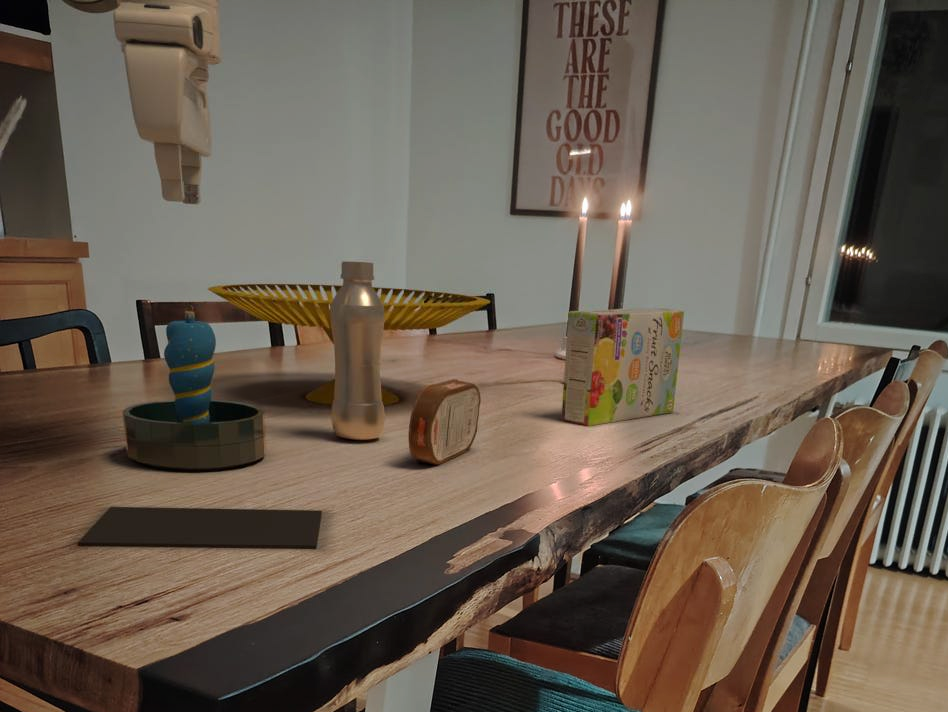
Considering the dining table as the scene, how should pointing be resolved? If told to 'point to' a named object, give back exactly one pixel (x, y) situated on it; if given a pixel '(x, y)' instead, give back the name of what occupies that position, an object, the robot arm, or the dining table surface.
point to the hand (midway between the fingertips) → (182, 202)
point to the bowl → (195, 436)
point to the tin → (444, 421)
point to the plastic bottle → (357, 354)
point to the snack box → (620, 364)
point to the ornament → (190, 367)
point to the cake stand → (319, 316)
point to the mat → (205, 528)
